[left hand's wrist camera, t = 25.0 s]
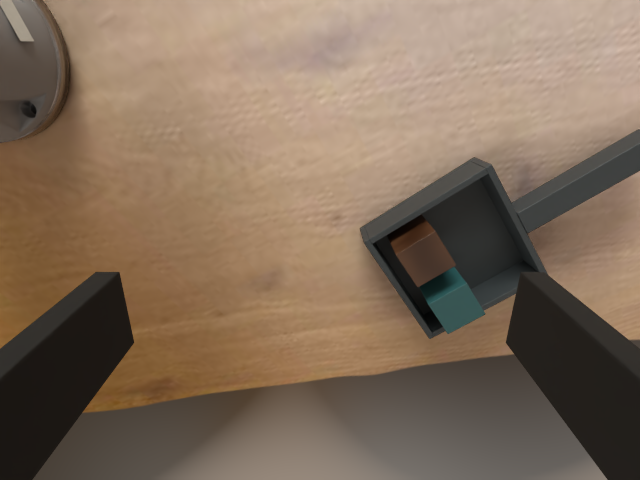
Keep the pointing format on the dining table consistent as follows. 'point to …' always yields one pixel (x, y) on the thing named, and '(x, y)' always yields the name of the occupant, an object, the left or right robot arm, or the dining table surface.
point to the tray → (491, 224)
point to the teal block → (451, 300)
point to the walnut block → (420, 250)
